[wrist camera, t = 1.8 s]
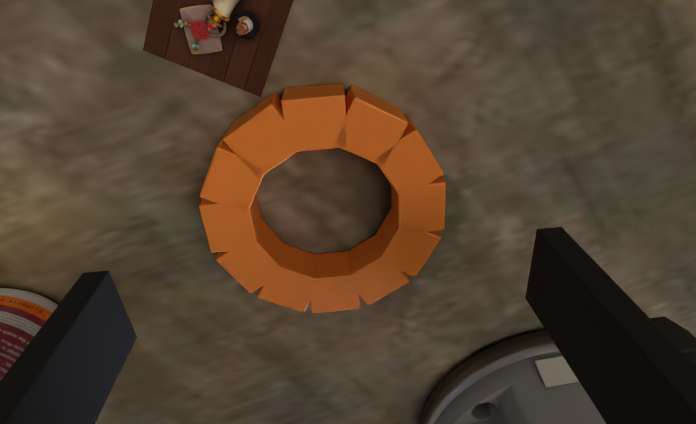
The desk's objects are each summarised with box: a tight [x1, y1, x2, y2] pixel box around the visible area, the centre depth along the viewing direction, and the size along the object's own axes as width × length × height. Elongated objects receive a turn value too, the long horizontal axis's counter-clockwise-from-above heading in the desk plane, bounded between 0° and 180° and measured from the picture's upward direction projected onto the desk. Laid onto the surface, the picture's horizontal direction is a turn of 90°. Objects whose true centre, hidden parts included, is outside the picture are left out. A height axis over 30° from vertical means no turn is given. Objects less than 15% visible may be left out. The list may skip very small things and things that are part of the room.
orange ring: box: [199, 83, 446, 313], centre depth 19 cm, size 10×10×2 cm
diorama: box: [143, 0, 293, 97], centre depth 15 cm, size 3×4×2 cm
